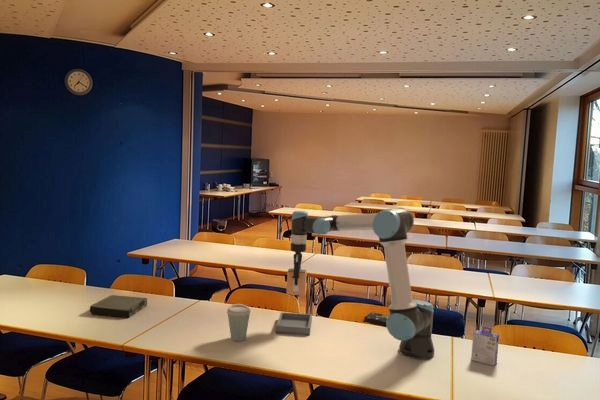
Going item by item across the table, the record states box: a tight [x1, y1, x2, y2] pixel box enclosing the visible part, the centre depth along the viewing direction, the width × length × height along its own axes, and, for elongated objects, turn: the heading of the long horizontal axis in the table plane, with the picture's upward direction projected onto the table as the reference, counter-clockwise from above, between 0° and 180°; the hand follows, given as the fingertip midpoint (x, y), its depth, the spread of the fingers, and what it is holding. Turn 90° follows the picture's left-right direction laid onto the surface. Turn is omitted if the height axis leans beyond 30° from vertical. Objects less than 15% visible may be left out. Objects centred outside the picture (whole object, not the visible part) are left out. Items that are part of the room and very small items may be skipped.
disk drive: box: [363, 311, 390, 327], centre depth 252 cm, size 10×3×15 cm
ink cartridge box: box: [470, 326, 500, 366], centre depth 207 cm, size 10×6×14 cm, turn 58°
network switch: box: [89, 294, 148, 319], centre depth 250 cm, size 23×23×5 cm
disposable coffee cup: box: [226, 303, 251, 342], centre depth 218 cm, size 11×11×15 cm
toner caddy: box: [286, 268, 308, 297], centre depth 236 cm, size 6×9×11 cm, turn 86°
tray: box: [275, 311, 313, 336], centre depth 238 cm, size 20×16×4 cm
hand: (296, 289), depth 237 cm, fingers closed on toner caddy, 6 cm apart
